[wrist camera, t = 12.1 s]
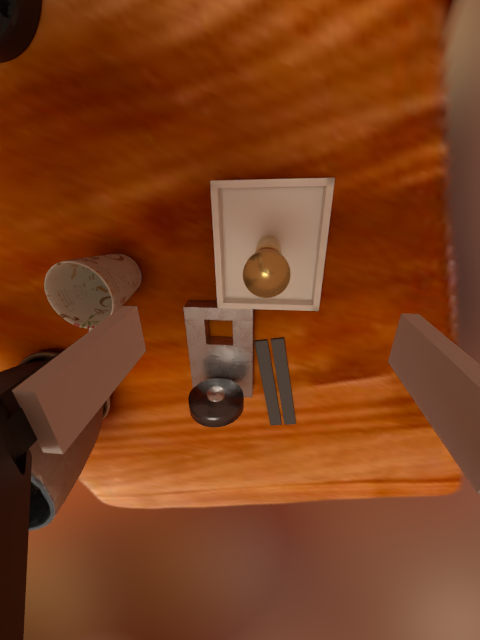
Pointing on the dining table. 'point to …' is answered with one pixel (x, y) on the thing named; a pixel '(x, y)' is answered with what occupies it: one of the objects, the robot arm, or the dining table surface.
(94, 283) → the mug
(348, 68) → the dining table surface
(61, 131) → the dining table surface
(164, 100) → the dining table surface
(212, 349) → the block
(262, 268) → the pin
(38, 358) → the potted plant
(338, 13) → the dining table surface
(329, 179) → the tray
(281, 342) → the pair of grey strips
